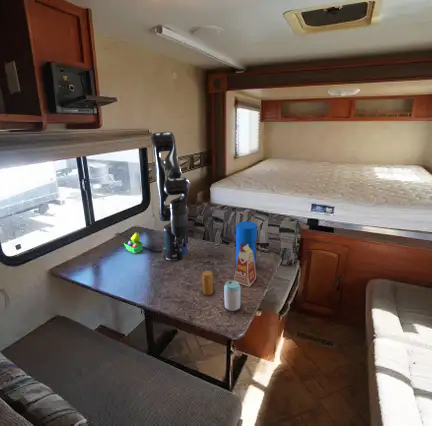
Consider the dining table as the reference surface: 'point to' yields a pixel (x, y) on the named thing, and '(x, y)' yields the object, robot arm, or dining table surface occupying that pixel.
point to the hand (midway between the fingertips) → (181, 256)
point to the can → (232, 295)
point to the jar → (207, 282)
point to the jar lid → (184, 250)
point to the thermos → (246, 237)
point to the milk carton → (245, 267)
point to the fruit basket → (134, 244)
